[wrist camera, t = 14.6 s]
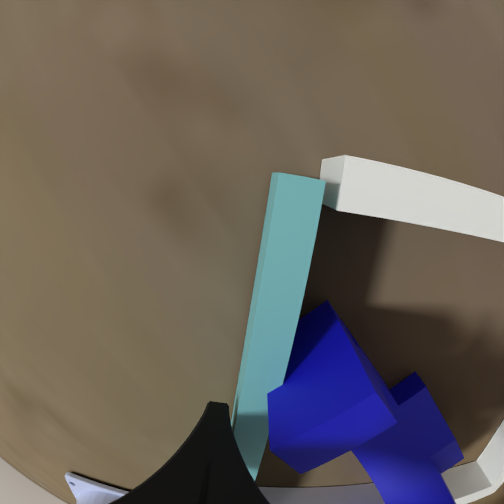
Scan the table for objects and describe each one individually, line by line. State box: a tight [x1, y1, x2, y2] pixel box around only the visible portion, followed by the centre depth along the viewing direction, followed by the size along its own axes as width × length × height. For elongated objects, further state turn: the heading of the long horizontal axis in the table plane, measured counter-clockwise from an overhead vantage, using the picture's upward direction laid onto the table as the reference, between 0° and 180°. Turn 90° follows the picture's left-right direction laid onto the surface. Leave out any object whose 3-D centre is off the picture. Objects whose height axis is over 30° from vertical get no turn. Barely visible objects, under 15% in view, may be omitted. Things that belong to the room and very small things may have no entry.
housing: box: [259, 155, 504, 504], centre depth 11 cm, size 19×18×4 cm
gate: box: [231, 172, 326, 481], centre depth 11 cm, size 17×1×3 cm, turn 171°
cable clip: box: [267, 300, 464, 504], centre depth 11 cm, size 12×4×6 cm, turn 37°
